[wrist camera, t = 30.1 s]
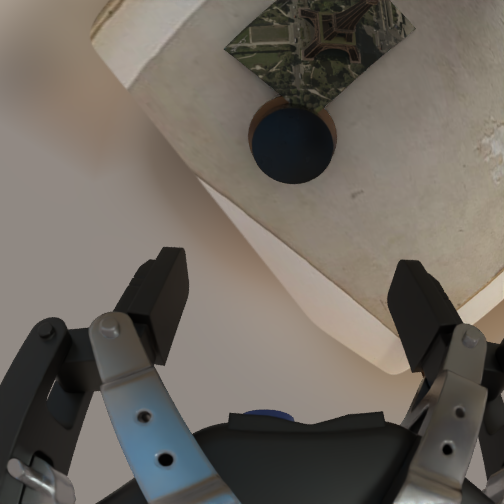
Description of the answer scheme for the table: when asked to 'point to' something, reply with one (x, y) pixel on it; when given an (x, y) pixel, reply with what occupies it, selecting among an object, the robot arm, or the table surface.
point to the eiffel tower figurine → (318, 45)
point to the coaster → (281, 100)
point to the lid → (292, 144)
